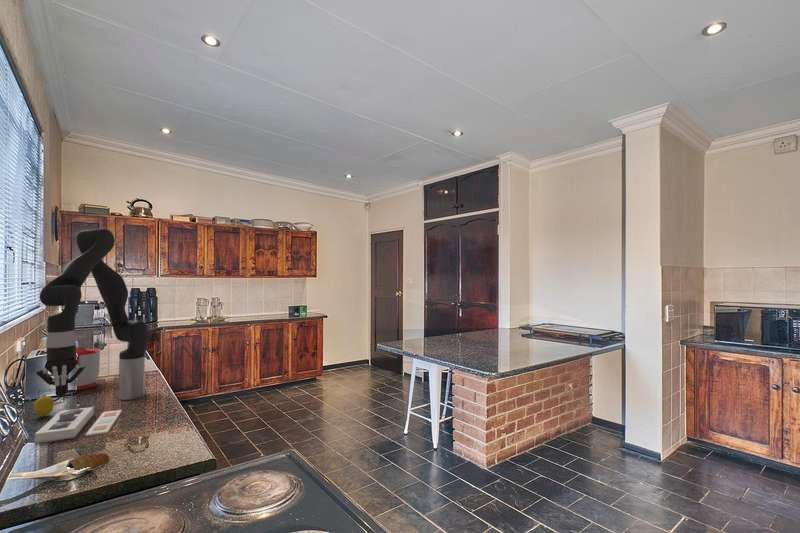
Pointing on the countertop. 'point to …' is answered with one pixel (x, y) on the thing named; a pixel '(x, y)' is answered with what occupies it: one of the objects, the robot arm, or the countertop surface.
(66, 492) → the countertop surface
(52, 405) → the lemon
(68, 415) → the button middle
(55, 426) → the button near
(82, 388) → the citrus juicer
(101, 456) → the pastry
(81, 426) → the button panel
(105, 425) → the pattern card
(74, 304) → the robot arm
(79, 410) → the button far
